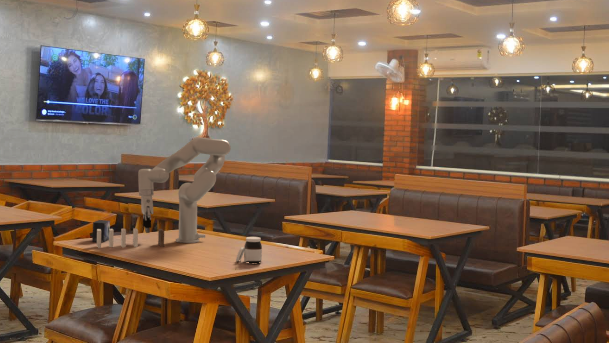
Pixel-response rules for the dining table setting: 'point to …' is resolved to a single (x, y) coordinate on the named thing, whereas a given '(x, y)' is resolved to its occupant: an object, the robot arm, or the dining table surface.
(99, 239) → the domino
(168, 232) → the dining table surface
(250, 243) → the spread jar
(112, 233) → the domino
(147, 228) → the end domino
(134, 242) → the domino
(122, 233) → the domino
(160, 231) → the block
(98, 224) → the small box
